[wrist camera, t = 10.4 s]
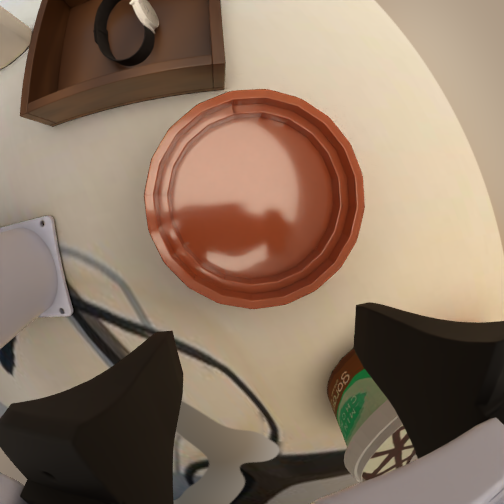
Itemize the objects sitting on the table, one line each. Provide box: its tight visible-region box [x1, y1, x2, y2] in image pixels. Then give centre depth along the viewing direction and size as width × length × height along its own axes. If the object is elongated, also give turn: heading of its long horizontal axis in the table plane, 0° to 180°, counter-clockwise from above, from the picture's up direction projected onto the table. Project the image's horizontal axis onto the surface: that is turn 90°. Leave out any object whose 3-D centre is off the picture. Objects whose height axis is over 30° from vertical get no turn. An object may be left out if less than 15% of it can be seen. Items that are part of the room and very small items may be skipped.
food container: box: [327, 348, 416, 483], centre depth 19 cm, size 12×6×10 cm, turn 5°
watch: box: [93, 0, 159, 66], centre depth 13 cm, size 8×5×4 cm, turn 20°
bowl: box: [144, 89, 365, 309], centre depth 18 cm, size 13×13×3 cm
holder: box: [20, 0, 225, 127], centre depth 13 cm, size 13×12×4 cm
